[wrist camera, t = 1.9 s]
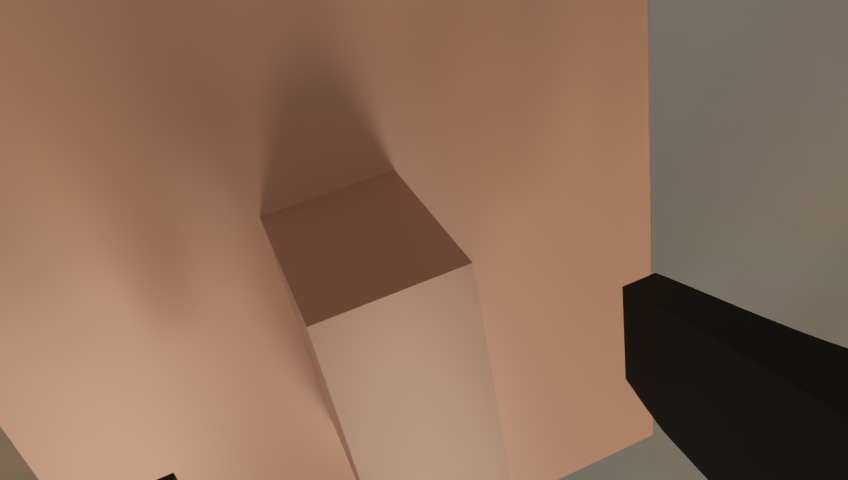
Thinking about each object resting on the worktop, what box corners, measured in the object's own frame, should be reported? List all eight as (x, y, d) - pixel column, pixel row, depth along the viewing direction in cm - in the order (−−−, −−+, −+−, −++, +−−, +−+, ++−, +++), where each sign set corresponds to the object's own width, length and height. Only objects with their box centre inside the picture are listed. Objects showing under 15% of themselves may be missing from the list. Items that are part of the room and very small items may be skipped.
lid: (623, 402, 21) (740, 532, 17) (164, 611, 18) (185, 817, 14) (597, -217, 12) (810, -220, 9) (-252, -4, 10) (-447, 115, 6)
